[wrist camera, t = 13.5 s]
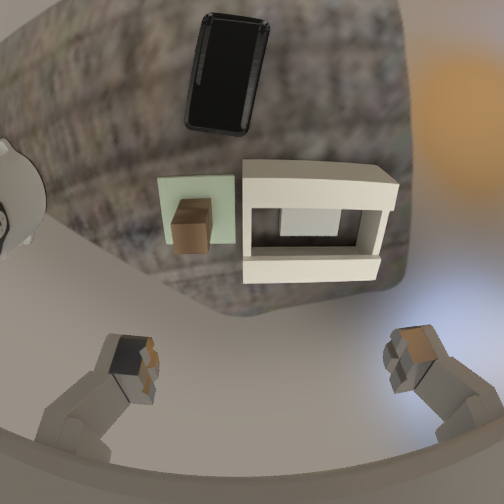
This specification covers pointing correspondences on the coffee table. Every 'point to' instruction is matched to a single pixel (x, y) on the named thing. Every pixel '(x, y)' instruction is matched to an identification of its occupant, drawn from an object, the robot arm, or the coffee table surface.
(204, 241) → the walnut block
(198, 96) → the phone
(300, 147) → the coffee table surface
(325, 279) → the slotted box
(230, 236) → the sage mat
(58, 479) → the robot arm
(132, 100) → the coffee table surface
